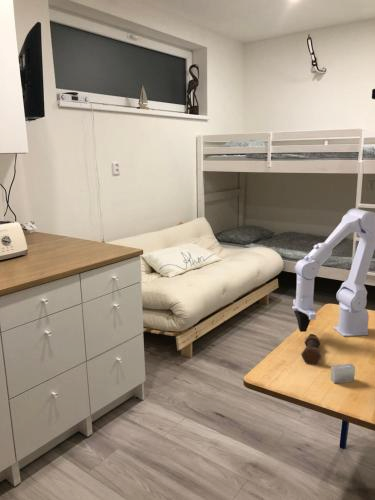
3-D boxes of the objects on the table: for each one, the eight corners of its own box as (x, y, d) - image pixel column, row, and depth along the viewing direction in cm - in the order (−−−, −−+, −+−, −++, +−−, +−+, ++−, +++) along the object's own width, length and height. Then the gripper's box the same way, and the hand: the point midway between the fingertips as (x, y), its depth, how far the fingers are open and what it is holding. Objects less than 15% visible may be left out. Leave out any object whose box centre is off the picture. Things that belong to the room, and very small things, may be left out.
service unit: (350, 377, 118) (351, 363, 116) (354, 381, 115) (355, 367, 114) (330, 379, 117) (331, 364, 116) (333, 383, 115) (335, 368, 114)
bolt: (314, 348, 139) (312, 368, 125) (301, 339, 140) (298, 358, 126) (324, 335, 137) (323, 354, 123) (311, 326, 138) (309, 344, 124)
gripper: (285, 288, 147) (284, 323, 150) (302, 302, 133) (300, 340, 136) (304, 287, 147) (302, 322, 151) (322, 301, 133) (320, 339, 137)
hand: (302, 330), depth 143 cm, fingers closed
